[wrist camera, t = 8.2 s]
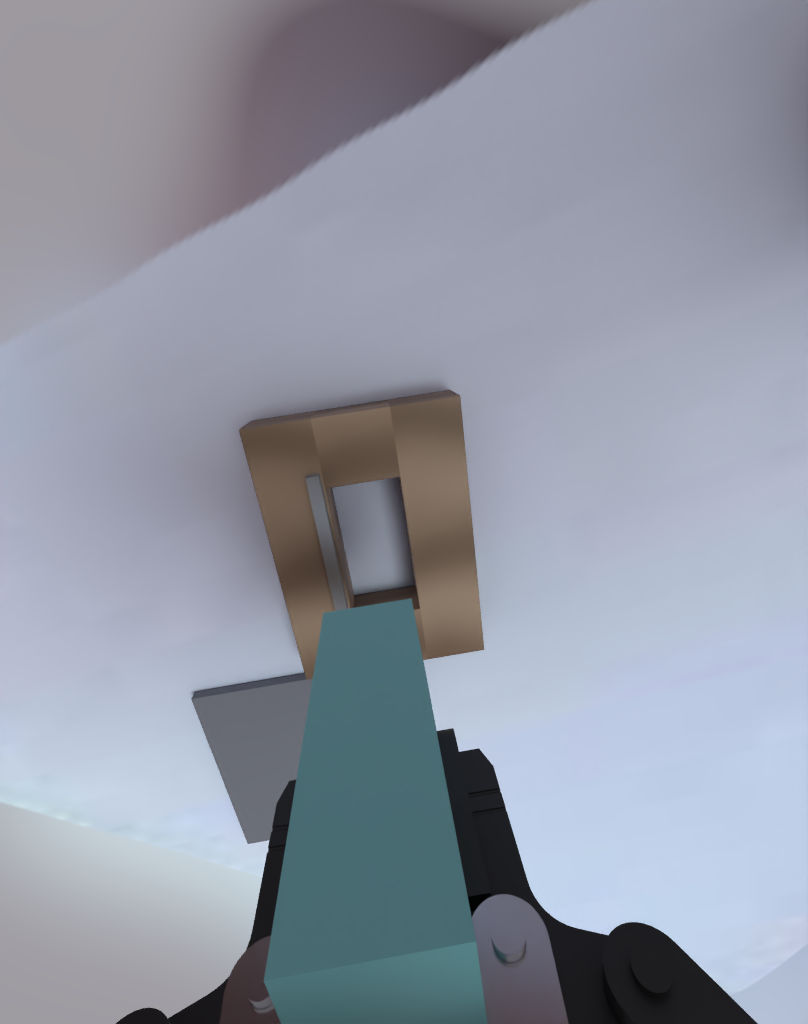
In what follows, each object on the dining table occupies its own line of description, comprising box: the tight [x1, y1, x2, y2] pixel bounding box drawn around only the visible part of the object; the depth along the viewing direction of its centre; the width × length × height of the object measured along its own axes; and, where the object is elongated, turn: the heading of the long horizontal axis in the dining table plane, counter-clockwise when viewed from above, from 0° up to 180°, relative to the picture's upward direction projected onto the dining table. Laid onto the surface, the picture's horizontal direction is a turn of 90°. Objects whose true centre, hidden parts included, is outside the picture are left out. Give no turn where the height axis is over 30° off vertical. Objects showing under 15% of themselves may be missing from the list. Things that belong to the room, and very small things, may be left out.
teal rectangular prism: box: [264, 598, 487, 1024], centre depth 10 cm, size 6×2×8 cm, turn 8°
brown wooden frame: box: [239, 390, 484, 680], centre depth 24 cm, size 14×10×3 cm
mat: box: [192, 673, 313, 844], centre depth 30 cm, size 13×13×1 cm
